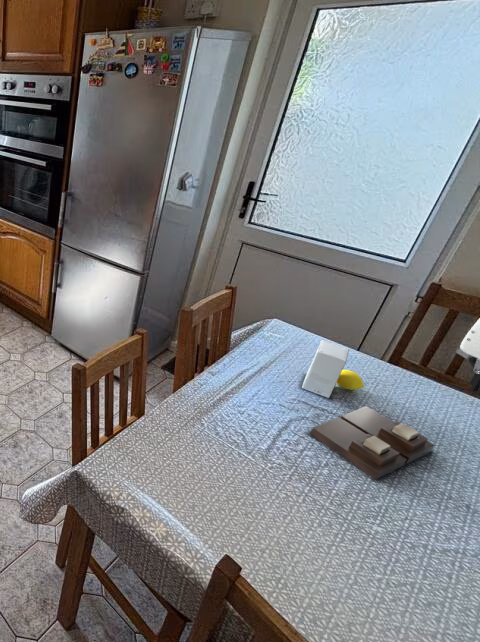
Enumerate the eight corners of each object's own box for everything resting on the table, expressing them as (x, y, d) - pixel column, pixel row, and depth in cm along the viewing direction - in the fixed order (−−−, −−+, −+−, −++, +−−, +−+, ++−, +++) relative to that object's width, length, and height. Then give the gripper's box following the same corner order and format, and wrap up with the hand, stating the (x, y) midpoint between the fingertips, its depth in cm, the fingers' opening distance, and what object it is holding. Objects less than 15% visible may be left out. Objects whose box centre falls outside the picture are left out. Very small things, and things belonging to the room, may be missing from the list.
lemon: (326, 383, 121) (332, 368, 119) (335, 377, 123) (342, 362, 121) (355, 397, 115) (362, 382, 113) (364, 391, 117) (372, 376, 115)
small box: (329, 398, 115) (346, 361, 109) (301, 388, 119) (317, 351, 113) (332, 384, 120) (349, 348, 115) (306, 375, 124) (321, 339, 119)
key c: (416, 437, 98) (419, 432, 97) (407, 441, 97) (411, 436, 96) (399, 428, 101) (402, 422, 100) (391, 431, 100) (394, 426, 99)
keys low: (430, 451, 98) (438, 439, 97) (405, 464, 95) (413, 452, 94) (362, 411, 110) (368, 400, 109) (338, 422, 107) (343, 410, 106)
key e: (387, 451, 95) (390, 445, 94) (378, 455, 94) (382, 450, 93) (371, 440, 97) (374, 435, 96) (362, 444, 96) (365, 439, 96)
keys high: (402, 466, 95) (410, 453, 93) (375, 479, 92) (383, 467, 90) (335, 423, 107) (341, 411, 105) (309, 434, 104) (315, 422, 102)
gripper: (605, 328, 70) (545, 410, 78) (481, 291, 83) (440, 365, 91) (583, 338, 68) (524, 421, 76) (459, 299, 81) (420, 373, 88)
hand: (478, 390), depth 83 cm, fingers closed
